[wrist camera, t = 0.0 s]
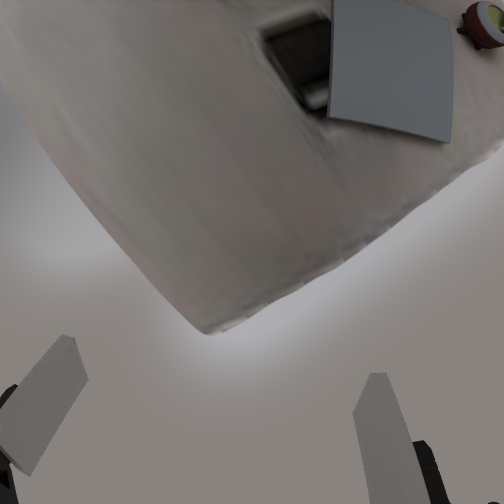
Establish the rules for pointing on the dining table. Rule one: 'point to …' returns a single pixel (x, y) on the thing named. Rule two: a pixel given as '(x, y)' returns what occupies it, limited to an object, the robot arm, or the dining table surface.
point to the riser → (391, 67)
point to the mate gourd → (484, 25)
